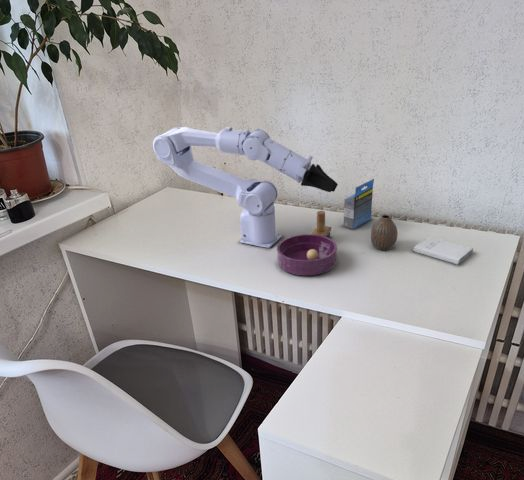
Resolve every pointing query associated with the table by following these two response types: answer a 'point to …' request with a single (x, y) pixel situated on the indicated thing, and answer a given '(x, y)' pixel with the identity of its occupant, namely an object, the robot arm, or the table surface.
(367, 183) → the tape cartridge
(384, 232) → the vase
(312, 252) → the dough ball
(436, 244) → the hard drive
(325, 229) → the brush
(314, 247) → the bowl
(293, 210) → the table surface
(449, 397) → the table surface
